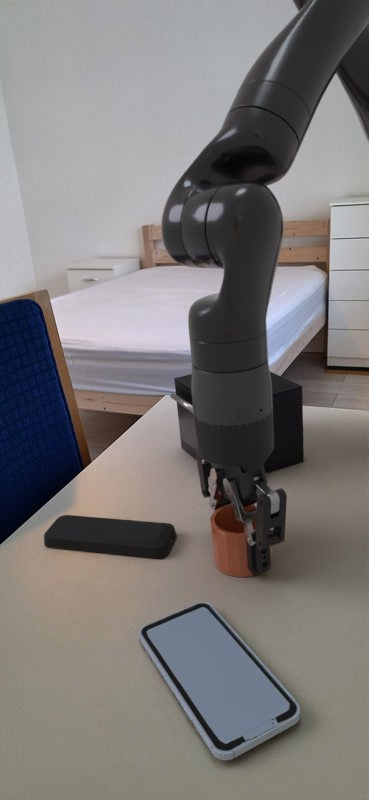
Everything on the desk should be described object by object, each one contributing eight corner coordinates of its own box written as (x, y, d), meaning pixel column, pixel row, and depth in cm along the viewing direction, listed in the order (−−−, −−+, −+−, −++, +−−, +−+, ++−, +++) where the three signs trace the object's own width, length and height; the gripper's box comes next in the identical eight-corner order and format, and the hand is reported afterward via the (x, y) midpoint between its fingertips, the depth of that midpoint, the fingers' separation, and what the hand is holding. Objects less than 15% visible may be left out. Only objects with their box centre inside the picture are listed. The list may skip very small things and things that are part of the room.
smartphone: (206, 598, 56) (306, 711, 43) (207, 606, 57) (306, 721, 44) (134, 629, 53) (218, 759, 41) (136, 637, 54) (219, 769, 41)
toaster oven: (250, 427, 93) (246, 360, 89) (303, 461, 81) (302, 386, 77) (171, 450, 88) (163, 380, 84) (216, 490, 76) (209, 411, 72)
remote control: (42, 550, 68) (166, 559, 64) (39, 537, 68) (163, 545, 63) (62, 526, 73) (179, 533, 68) (59, 514, 72) (177, 519, 67)
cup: (252, 535, 66) (250, 496, 65) (283, 564, 61) (282, 522, 59) (203, 553, 64) (200, 513, 62) (232, 584, 59) (228, 542, 57)
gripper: (311, 420, 52) (313, 579, 58) (229, 377, 64) (238, 512, 70) (236, 443, 49) (247, 607, 55) (165, 393, 61) (180, 532, 67)
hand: (242, 553), depth 63 cm, fingers closed on cup, 6 cm apart
